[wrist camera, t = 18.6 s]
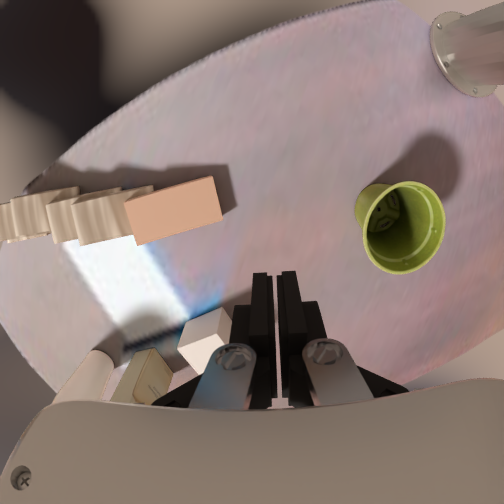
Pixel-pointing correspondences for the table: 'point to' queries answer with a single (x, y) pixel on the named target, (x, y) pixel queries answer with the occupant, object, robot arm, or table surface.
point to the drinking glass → (88, 378)
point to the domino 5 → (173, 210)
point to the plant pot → (400, 225)
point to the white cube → (204, 337)
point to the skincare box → (144, 379)
